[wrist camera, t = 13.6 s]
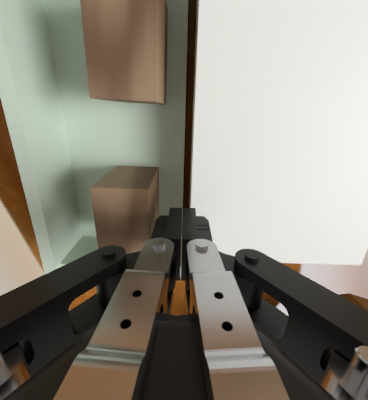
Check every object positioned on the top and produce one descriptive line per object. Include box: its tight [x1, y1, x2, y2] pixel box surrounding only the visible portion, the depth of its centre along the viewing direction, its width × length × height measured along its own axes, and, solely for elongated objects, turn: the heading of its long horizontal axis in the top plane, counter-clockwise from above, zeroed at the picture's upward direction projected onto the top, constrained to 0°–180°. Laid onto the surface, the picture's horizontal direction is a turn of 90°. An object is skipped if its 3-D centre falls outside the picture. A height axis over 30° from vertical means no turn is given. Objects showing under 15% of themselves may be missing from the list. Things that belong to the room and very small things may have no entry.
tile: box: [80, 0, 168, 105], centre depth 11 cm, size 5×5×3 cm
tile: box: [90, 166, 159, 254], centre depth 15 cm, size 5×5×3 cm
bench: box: [189, 0, 368, 265], centre depth 14 cm, size 16×12×4 cm
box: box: [0, 0, 188, 277], centre depth 14 cm, size 18×9×4 cm, turn 179°
